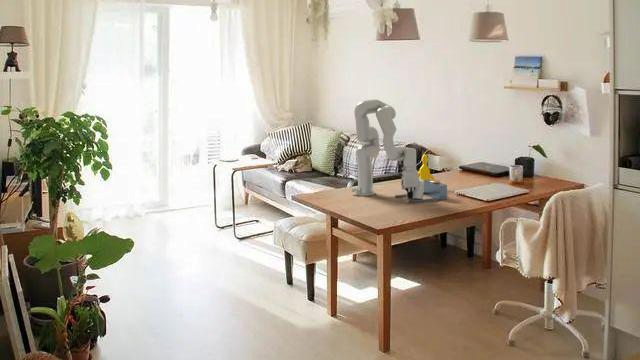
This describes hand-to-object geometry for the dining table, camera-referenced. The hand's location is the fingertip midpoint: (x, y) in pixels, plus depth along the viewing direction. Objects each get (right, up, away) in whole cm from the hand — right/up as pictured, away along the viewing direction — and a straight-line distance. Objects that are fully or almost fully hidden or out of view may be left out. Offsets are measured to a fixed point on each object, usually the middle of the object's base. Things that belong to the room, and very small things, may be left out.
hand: (410, 198), depth 354 cm
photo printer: (+3, 0, +2) cm, 4 cm away
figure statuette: (+15, +6, +35) cm, 38 cm away
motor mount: (+7, 0, +3) cm, 8 cm away
